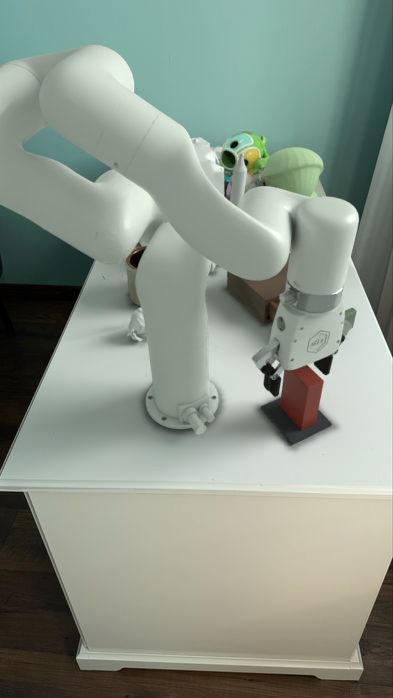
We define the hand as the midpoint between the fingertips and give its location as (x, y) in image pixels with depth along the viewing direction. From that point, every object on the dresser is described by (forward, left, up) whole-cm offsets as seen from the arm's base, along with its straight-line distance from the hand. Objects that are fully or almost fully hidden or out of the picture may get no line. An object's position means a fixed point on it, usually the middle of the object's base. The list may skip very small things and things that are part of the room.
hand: (296, 379), depth 80 cm
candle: (+48, -17, -9) cm, 52 cm away
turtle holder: (+88, -51, -3) cm, 102 cm away
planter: (+44, +5, -9) cm, 45 cm away
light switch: (+97, -42, -7) cm, 106 cm away
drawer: (+18, -17, -8) cm, 26 cm away
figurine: (+31, +9, -9) cm, 34 cm away
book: (-1, -1, -8) cm, 8 cm away
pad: (0, -1, -9) cm, 9 cm away
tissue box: (+68, -26, +1) cm, 73 cm away
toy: (+69, -46, +4) cm, 84 cm away
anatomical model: (+70, -39, -4) cm, 80 cm away
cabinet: (+30, -17, -9) cm, 36 cm away
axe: (+101, -18, -8) cm, 103 cm away
